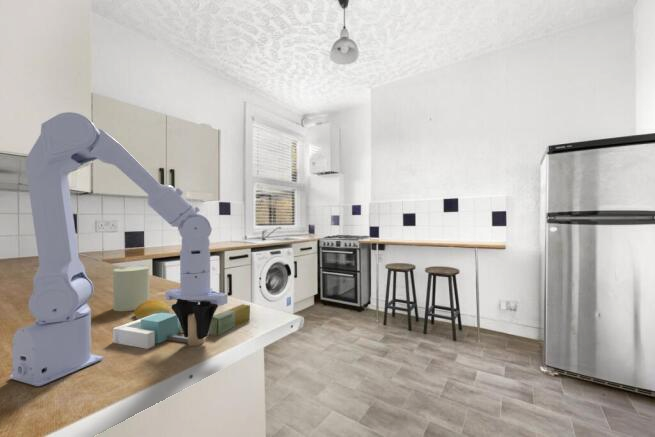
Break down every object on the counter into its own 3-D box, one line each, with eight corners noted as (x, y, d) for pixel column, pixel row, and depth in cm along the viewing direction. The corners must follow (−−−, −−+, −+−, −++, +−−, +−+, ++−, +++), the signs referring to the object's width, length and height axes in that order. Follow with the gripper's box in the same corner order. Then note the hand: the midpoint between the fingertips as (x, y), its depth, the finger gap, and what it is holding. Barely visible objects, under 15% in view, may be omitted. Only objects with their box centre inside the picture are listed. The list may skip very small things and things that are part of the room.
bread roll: (137, 323, 73) (137, 307, 73) (132, 315, 80) (132, 300, 80) (173, 316, 78) (173, 301, 78) (166, 308, 85) (165, 295, 85)
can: (130, 302, 92) (130, 264, 92) (156, 302, 91) (156, 264, 91) (104, 310, 83) (104, 269, 83) (133, 312, 82) (133, 269, 82)
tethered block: (192, 349, 57) (192, 319, 57) (140, 340, 62) (140, 312, 62) (210, 339, 62) (210, 311, 62) (161, 331, 66) (161, 306, 66)
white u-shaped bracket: (147, 348, 57) (147, 333, 58) (113, 342, 61) (112, 328, 61) (187, 330, 67) (187, 317, 67) (155, 325, 70) (155, 313, 70)
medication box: (216, 337, 64) (216, 319, 64) (207, 335, 65) (207, 317, 65) (250, 319, 75) (250, 304, 75) (241, 318, 76) (242, 303, 76)
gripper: (236, 269, 61) (237, 333, 61) (183, 267, 66) (184, 325, 66) (213, 275, 55) (214, 347, 55) (156, 272, 60) (157, 337, 59)
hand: (196, 336), depth 60 cm, fingers closed on tethered block, 3 cm apart
